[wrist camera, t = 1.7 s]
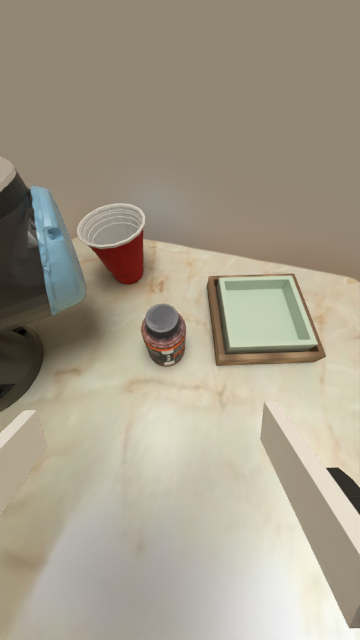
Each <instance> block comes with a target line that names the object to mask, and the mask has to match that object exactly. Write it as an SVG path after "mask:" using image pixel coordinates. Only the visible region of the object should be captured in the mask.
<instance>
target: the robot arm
mask: <svg viewBox="0 0 360 640" xmlns="http://www.w3.org/2000/svg"><path fill="white" fill-rule="evenodd" d="M85 295H86V283H85V279H84V276H83V273H82V269H81V266H80V263H79V260H78V257H77V255H76V252H75V249H74V246H73V244H72V241H71V238H70V236H69V233H68V231H67V228H66V225H65V223H64V220H63V218H62V215H61V213H60V211H59V209H58V206H57V204H56V203H55V201H54V199H53V197H52V194H51V192H49V190H48V189H46V188H44V187H37V186H32V187H31V189H29V188H28V187H26V185H25V184H24V182H23V181H22V179H21V177H20V176H19V174H18V173H17V171H16V169H15V168H14V166H13V165H12V164H11V163H10V161H8V160H6V159H4V158H3V157H1V156H0V411H1V410H3V409H5V408H7V407H8V406H10V405H11V404H12V403H14V402H15V401H16V400H17V399H19V398H20V397H21V396H22V395H23V394H24V393H25V392H26V390H27V389H28V388H29V387H30V386H31V384H32V383H33V381H34V380H35V378H36V376H37V374H38V372H39V369H40V367H41V363H42V358H43V348H42V343H41V341H40V339H39V337H38V336H37V334H36V333H35V332H33V331H32V330H31V329H29V328H27V327H26V326H24V325H26V324H29V323H31V322H34V321H37V320H40V319H43V318H45V317H48V316H51V315H53V316H54V315H56V314H57V313H58V312H59V311H62V310H64V309H66V308H69V307H71V306H73V305H76V304H78V303H79V302H81V301H82V300H83V299H84V297H85ZM260 439H261V442H262V444H263V446H264V448H265V450H266V452H267V454H268V456H269V459H270V461H271V463H272V465H273V467H274V469H275V471H276V473H277V476H278V478H279V480H280V482H281V484H282V486H283V488H284V490H285V493H286V495H287V497H288V499H289V501H290V503H291V505H292V507H293V510H294V512H295V514H296V516H297V518H298V520H299V522H300V525H301V527H302V529H303V531H304V533H305V535H306V537H307V539H308V542H309V544H310V546H311V548H312V550H313V552H314V554H315V556H316V559H317V561H318V563H319V565H320V567H321V569H322V571H323V573H324V576H325V578H326V580H327V582H328V584H329V586H330V588H331V590H332V593H333V595H334V597H335V599H336V601H337V603H338V605H339V607H340V610H341V612H342V614H343V616H344V618H345V620H346V622H347V624H348V627H349V628H360V488H359V487H358V485H357V484H356V483H355V482H354V480H353V479H351V478H350V477H349V476H348V475H347V474H345V473H344V472H343V471H342V470H340V469H339V468H325V466H324V465H323V464H322V462H321V461H320V459H319V458H318V457H317V455H316V454H315V452H314V451H313V450H312V448H311V447H310V446H309V444H308V443H307V441H306V440H305V439H304V437H303V436H302V434H301V433H300V432H299V430H298V429H297V428H296V426H295V425H294V423H293V422H292V421H291V419H290V418H289V416H288V415H287V414H286V412H285V411H284V409H283V408H282V407H281V405H280V404H279V403H278V401H264V408H263V418H262V428H261V438H260ZM46 449H47V444H46V440H45V437H44V433H43V430H42V426H41V423H40V419H39V415H38V412H37V410H24V411H23V412H22V413H21V414H20V415H18V416H17V417H16V418H15V419H14V420H13V421H12V422H11V423H10V424H9V425H8V426H7V427H6V428H5V429H4V430H3V431H2V432H1V433H0V515H1V513H2V512H3V510H4V509H5V508H6V506H7V505H8V503H9V502H10V500H11V499H12V498H13V496H14V495H15V493H16V492H17V490H18V489H19V487H20V486H21V485H22V483H23V482H24V480H25V479H26V477H27V476H28V475H29V473H30V472H31V470H32V469H33V467H34V466H35V465H36V463H37V462H38V460H39V459H40V457H41V456H42V454H43V453H44V452H45V450H46Z"/></svg>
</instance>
